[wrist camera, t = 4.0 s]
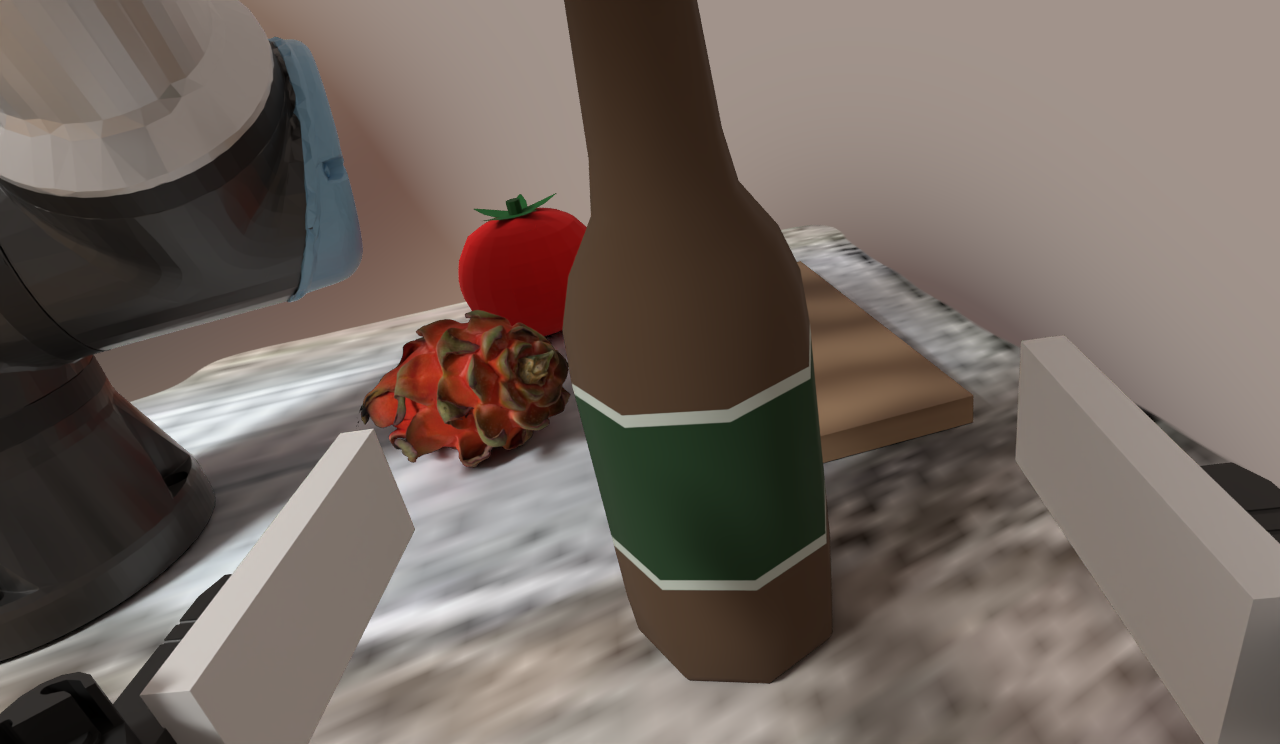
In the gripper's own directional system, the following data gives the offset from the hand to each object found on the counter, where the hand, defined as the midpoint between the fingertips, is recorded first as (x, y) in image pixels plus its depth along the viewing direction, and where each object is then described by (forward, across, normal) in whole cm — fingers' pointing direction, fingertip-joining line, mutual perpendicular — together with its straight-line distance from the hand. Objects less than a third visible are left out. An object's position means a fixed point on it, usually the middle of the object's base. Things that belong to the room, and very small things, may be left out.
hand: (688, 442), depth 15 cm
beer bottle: (+8, 0, -13) cm, 15 cm away
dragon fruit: (+22, -14, -13) cm, 29 cm away
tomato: (+38, -13, -13) cm, 42 cm away
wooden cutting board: (+28, +2, -13) cm, 31 cm away
